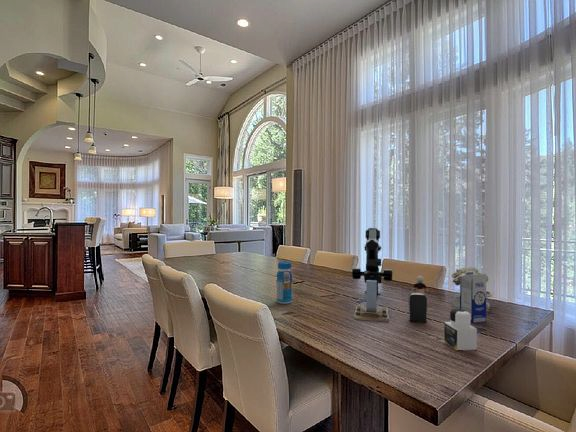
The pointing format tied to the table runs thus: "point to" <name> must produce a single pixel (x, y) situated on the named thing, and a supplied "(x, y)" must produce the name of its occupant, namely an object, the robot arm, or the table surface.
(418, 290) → the grandmother figurine
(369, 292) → the tall pale blue pillar
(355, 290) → the table surface
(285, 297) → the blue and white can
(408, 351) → the table surface
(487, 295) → the cherub figurine
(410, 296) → the battery charger
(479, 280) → the milk carton
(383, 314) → the keyhole track
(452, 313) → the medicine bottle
